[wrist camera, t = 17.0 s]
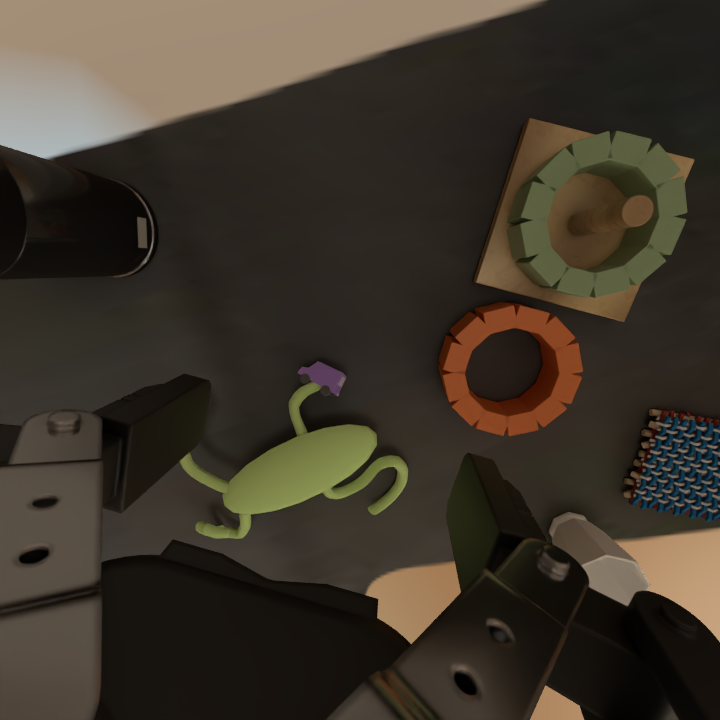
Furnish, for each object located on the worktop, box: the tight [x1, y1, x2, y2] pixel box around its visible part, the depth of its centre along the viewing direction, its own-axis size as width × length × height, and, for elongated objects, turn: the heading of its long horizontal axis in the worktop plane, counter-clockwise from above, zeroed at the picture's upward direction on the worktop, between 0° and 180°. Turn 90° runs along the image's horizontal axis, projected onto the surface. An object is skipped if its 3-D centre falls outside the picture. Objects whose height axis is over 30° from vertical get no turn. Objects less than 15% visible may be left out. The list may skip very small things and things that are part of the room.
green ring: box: [507, 131, 687, 298], centre depth 32 cm, size 12×12×4 cm
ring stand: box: [473, 118, 694, 322], centre depth 30 cm, size 14×14×10 cm
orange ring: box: [438, 301, 583, 436], centre depth 37 cm, size 12×12×4 cm
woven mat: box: [623, 409, 720, 522], centre depth 38 cm, size 10×11×2 cm
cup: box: [549, 512, 650, 606], centre depth 39 cm, size 7×10×8 cm
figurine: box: [180, 361, 408, 539], centre depth 40 cm, size 18×27×6 cm
